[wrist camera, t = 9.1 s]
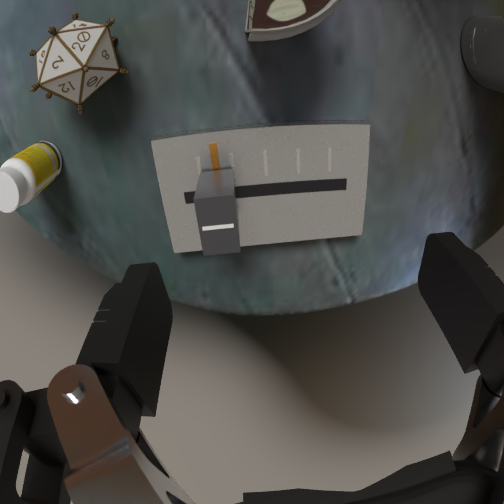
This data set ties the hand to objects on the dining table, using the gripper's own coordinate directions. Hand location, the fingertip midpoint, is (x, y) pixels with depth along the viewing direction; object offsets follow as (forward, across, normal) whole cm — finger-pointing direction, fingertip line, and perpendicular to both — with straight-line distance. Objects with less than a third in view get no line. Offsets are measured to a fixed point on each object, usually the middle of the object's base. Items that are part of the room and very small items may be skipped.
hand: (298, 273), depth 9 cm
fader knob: (+20, +4, +6) cm, 22 cm away
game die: (+23, +14, -9) cm, 28 cm away
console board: (+23, 0, +6) cm, 24 cm away
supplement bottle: (+22, +23, -1) cm, 32 cm away
